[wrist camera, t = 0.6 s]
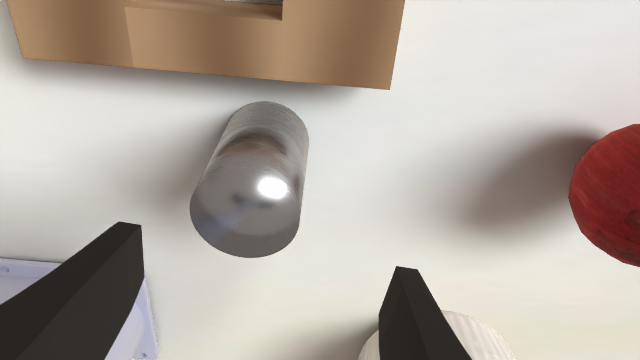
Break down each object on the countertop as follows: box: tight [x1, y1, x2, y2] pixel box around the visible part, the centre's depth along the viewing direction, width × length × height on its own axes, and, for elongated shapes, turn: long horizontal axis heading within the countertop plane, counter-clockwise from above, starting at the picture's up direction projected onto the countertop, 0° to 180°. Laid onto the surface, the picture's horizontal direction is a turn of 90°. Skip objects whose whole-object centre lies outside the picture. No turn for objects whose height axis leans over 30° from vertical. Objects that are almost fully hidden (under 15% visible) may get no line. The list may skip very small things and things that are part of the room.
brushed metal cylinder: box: [190, 102, 309, 258], centre depth 19 cm, size 4×4×6 cm
